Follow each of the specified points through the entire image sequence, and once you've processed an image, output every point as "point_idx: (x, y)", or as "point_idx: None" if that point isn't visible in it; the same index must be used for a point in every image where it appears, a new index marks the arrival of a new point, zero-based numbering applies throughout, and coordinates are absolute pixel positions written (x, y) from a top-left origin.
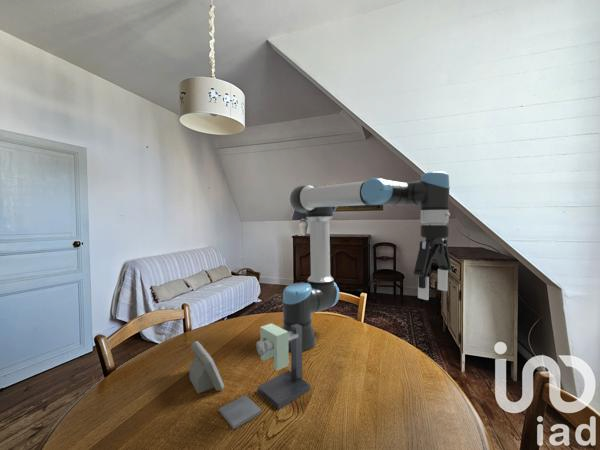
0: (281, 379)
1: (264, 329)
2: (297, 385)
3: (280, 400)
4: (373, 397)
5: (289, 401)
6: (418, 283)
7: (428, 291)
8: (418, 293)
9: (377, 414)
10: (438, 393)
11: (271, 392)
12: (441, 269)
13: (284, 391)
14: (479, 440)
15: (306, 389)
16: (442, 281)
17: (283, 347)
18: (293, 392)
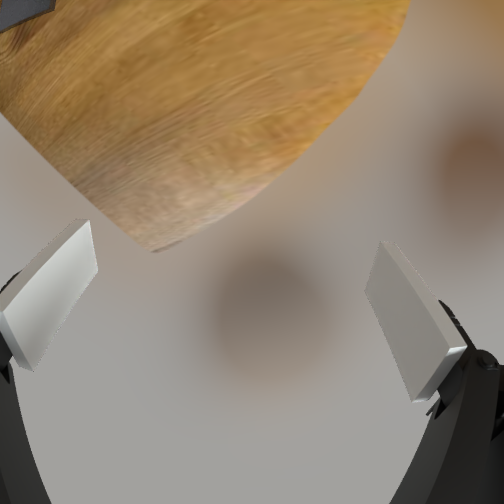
0: None
1: None
2: (36, 1)
3: (2, 26)
4: (110, 85)
5: (16, 25)
6: (24, 271)
7: (75, 299)
8: (62, 234)
9: (80, 119)
10: (220, 167)
11: (6, 4)
12: (454, 365)
13: (16, 8)
14: (152, 248)
15: (43, 12)
16: (394, 308)
17: None
18: (21, 16)
